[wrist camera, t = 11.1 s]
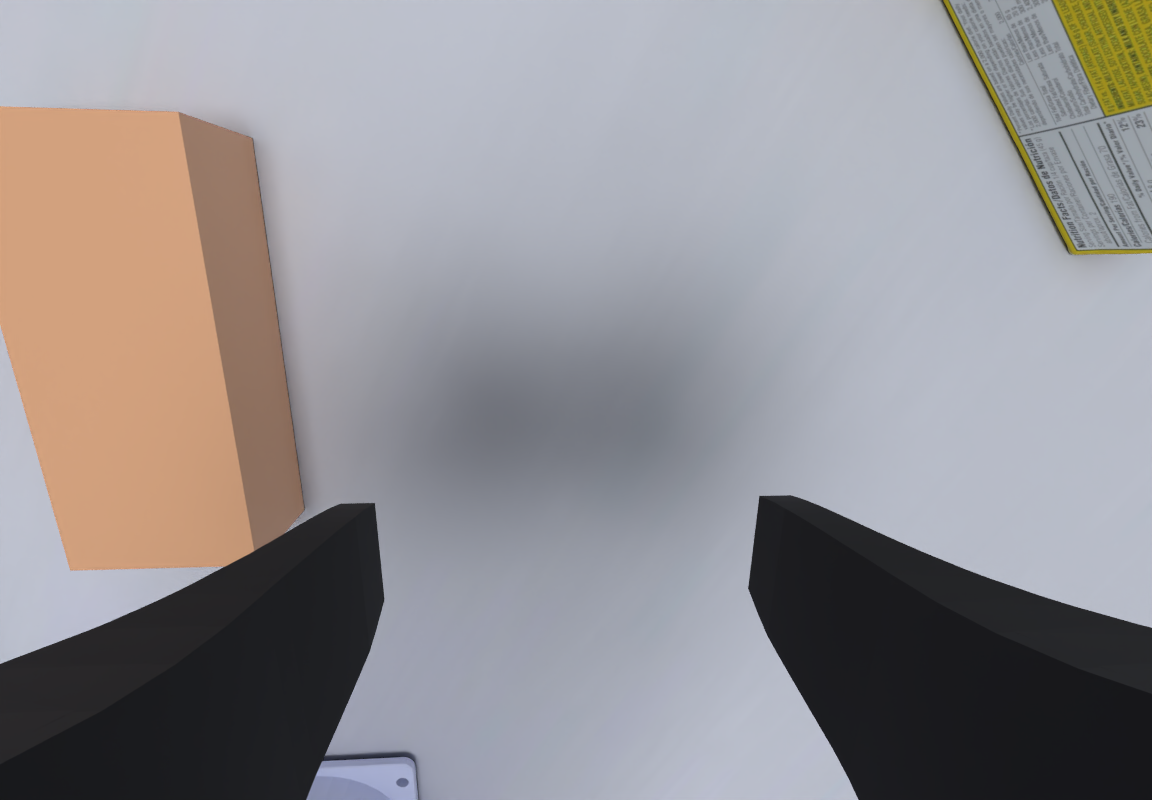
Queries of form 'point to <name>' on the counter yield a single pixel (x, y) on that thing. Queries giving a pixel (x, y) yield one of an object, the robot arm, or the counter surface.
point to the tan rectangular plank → (145, 335)
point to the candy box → (1074, 108)
